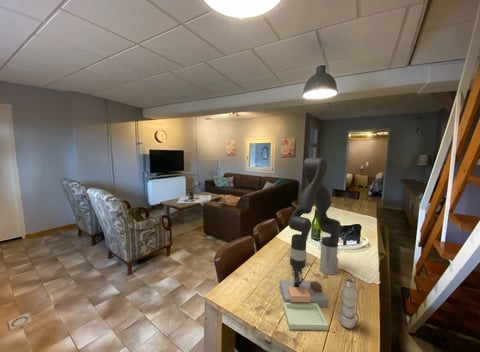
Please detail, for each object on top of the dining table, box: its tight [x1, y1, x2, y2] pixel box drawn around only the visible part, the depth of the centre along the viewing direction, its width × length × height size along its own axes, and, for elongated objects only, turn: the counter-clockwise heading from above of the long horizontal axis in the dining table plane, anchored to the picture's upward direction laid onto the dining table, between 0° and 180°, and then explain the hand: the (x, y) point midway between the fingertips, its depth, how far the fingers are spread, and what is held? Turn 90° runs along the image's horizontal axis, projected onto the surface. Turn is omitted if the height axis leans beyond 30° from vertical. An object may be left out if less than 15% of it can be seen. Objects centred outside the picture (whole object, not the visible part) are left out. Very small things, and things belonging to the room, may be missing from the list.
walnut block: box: [310, 280, 323, 293], centre depth 100 cm, size 4×4×3 cm
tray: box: [282, 301, 329, 332], centre depth 88 cm, size 16×12×2 cm
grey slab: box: [279, 279, 329, 308], centre depth 101 cm, size 20×14×4 cm
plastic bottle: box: [338, 277, 359, 329], centre depth 84 cm, size 6×7×20 cm
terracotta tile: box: [288, 287, 311, 302], centre depth 95 cm, size 9×6×3 cm, turn 89°
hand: (296, 288), depth 100 cm, fingers closed
